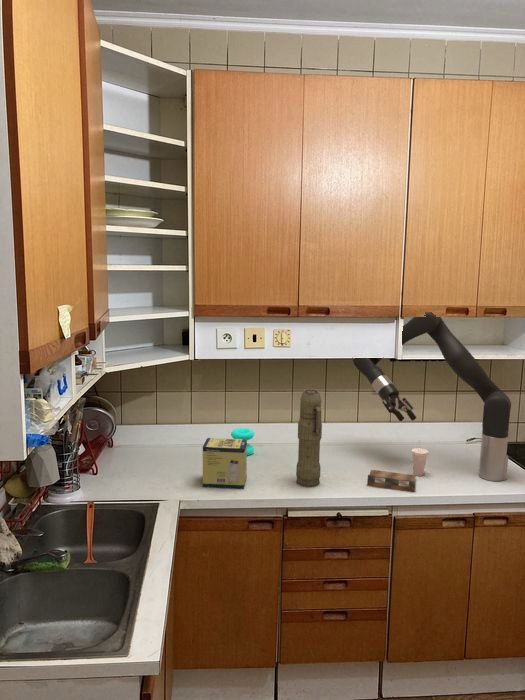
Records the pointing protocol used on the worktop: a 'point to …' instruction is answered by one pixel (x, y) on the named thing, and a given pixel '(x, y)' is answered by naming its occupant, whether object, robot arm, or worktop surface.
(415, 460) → the smoothie
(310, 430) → the thermos
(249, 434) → the donuts
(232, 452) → the protein box
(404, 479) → the shelf board
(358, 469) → the worktop surface
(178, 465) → the worktop surface
